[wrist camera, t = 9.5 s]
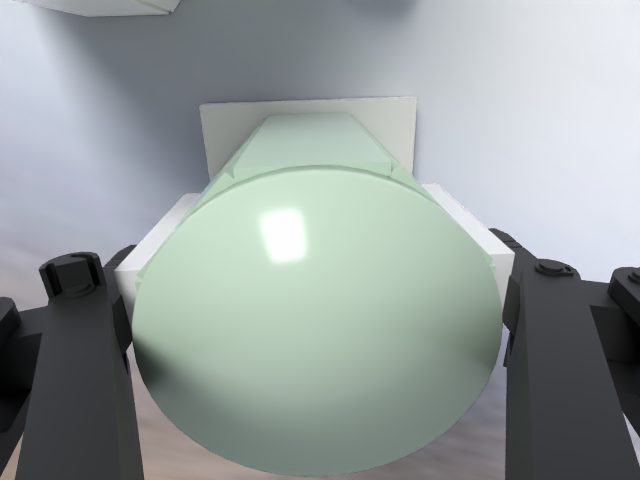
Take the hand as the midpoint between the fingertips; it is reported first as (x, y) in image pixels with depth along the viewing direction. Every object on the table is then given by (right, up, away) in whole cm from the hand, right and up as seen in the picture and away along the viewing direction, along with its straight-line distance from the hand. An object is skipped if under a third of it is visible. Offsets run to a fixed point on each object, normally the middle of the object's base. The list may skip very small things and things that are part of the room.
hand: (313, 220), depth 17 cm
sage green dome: (0, +1, +2) cm, 2 cm away
